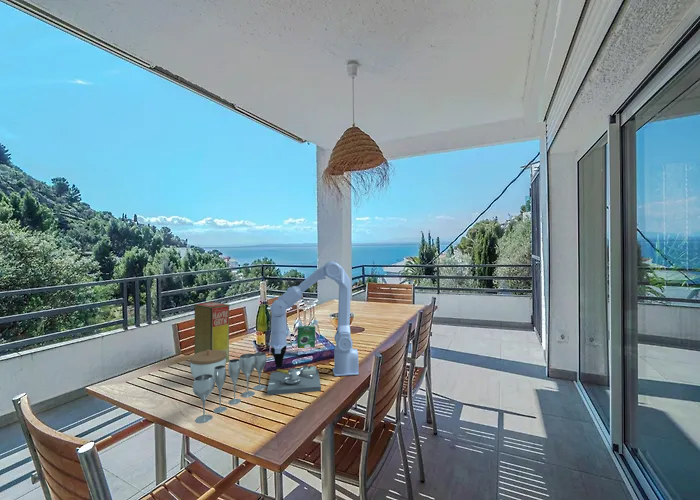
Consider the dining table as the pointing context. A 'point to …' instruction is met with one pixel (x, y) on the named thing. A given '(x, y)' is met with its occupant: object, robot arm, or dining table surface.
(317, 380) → the levelling stand
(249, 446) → the dining table surface
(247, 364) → the goblet set
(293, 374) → the capstan
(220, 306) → the food packaging
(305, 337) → the coffee box
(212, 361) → the lidded bowl
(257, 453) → the dining table surface
